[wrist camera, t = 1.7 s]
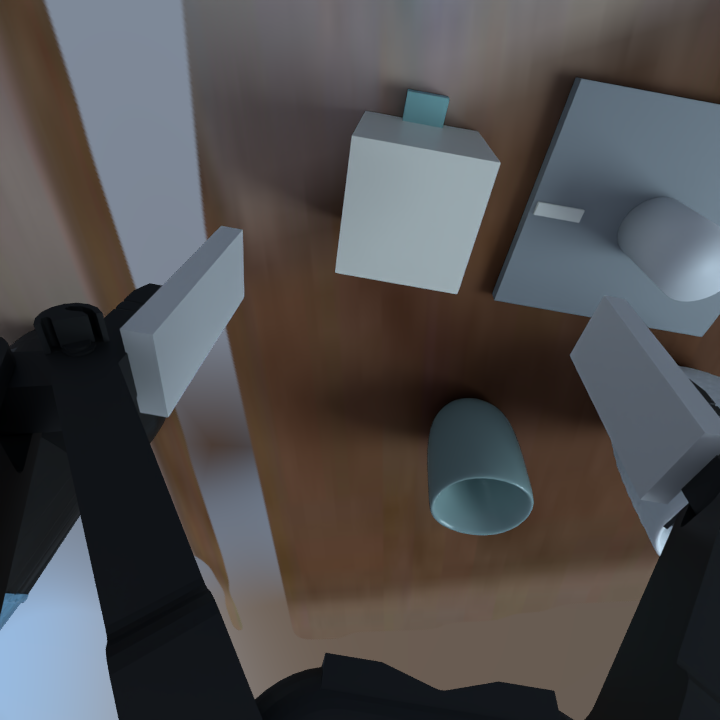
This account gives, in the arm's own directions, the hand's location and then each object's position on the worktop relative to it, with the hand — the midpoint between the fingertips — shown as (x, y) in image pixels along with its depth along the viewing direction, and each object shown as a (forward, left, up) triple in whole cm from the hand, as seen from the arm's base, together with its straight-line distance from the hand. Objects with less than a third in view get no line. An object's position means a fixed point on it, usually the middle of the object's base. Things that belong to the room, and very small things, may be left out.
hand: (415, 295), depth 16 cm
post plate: (+16, 0, -16) cm, 22 cm away
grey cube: (0, 0, -16) cm, 16 cm away
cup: (+10, -20, -16) cm, 27 cm away
